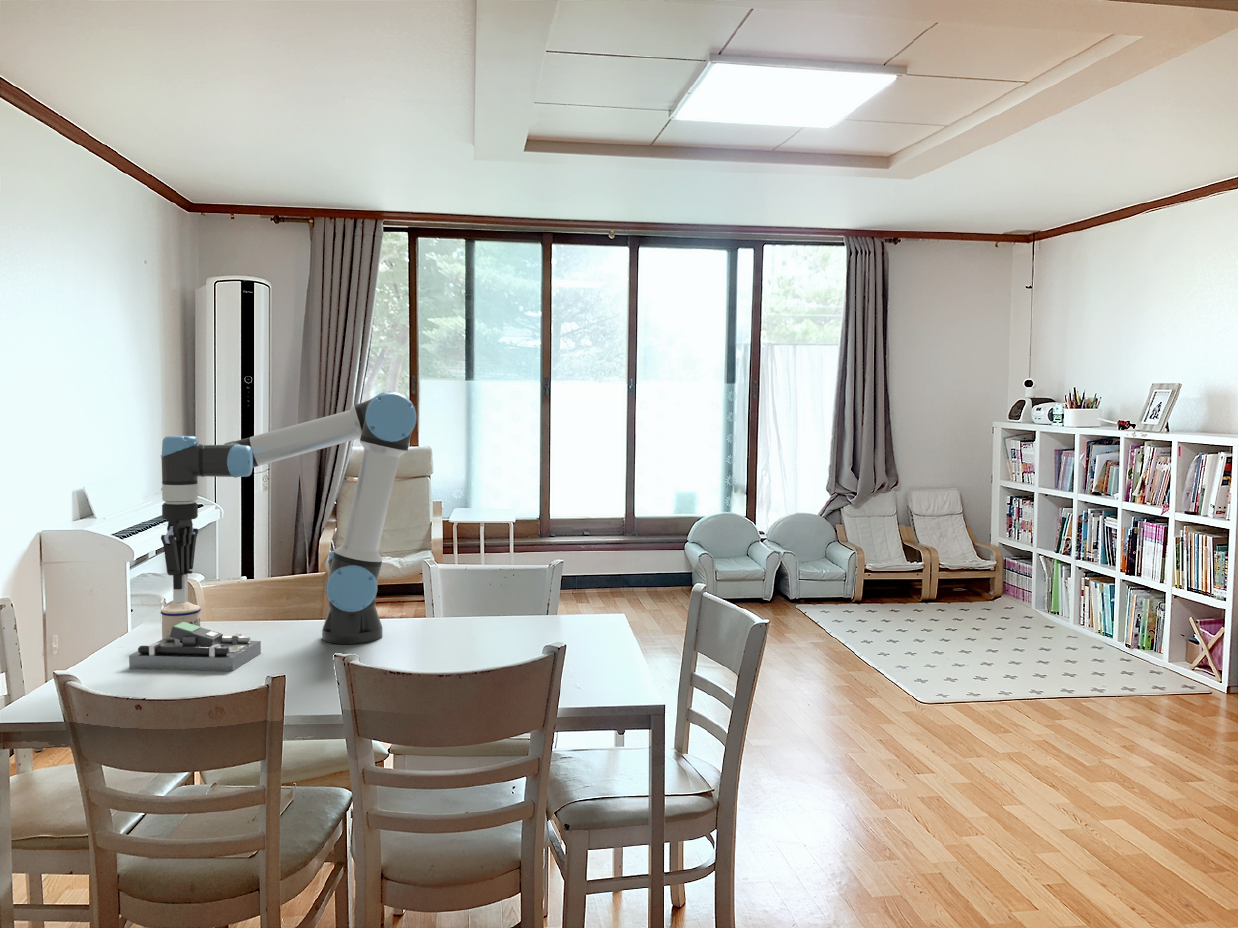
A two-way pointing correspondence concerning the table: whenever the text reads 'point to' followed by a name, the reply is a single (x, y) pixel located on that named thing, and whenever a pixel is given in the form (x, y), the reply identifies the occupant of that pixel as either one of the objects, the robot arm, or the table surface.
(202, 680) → the table surface
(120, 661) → the table surface
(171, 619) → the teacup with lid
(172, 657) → the panel
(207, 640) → the rocker
